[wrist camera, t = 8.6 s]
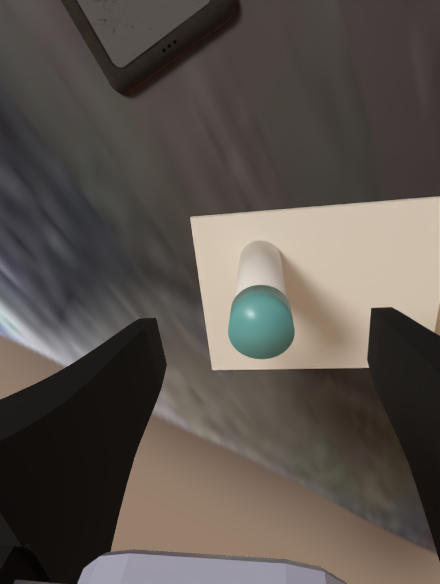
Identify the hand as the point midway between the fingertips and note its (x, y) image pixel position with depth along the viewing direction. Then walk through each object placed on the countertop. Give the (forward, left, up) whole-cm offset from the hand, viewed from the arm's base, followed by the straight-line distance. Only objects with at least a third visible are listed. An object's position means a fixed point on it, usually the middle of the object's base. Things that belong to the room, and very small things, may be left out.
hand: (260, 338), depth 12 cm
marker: (0, 0, -8) cm, 8 cm away
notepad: (-3, +3, -8) cm, 9 cm away
